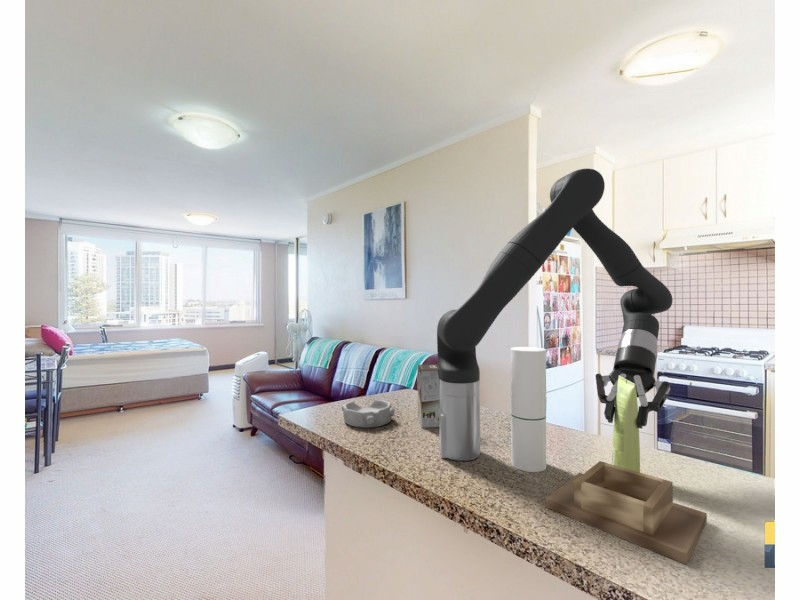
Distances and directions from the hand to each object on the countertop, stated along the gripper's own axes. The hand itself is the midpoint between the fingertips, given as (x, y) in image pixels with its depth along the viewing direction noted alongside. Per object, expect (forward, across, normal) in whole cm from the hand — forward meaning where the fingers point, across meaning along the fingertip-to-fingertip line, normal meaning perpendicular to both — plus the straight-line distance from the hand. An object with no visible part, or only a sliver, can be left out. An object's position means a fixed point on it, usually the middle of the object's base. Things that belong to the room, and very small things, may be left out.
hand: (624, 423), depth 77 cm
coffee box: (+5, -50, +11) cm, 52 cm away
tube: (+7, 0, +9) cm, 12 cm away
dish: (+13, -65, +3) cm, 66 cm away
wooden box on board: (+18, +2, -2) cm, 18 cm away
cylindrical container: (+12, -17, +4) cm, 21 cm away
